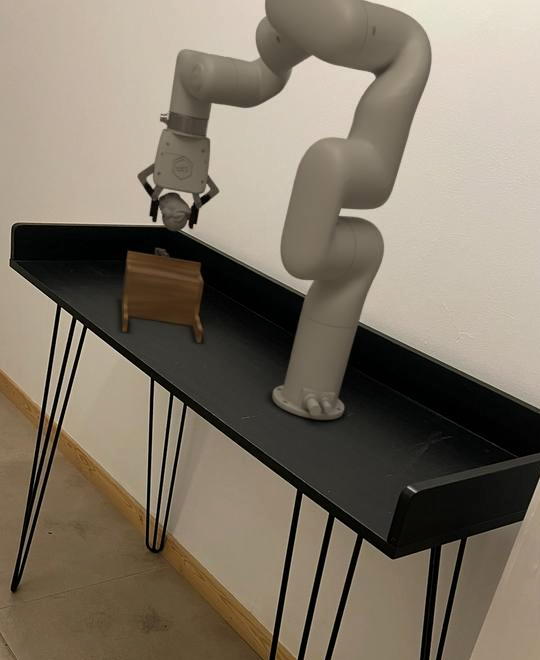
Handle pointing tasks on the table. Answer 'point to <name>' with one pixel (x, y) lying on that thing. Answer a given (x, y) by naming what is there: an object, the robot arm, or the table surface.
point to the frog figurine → (174, 211)
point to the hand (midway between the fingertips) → (172, 223)
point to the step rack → (162, 290)
